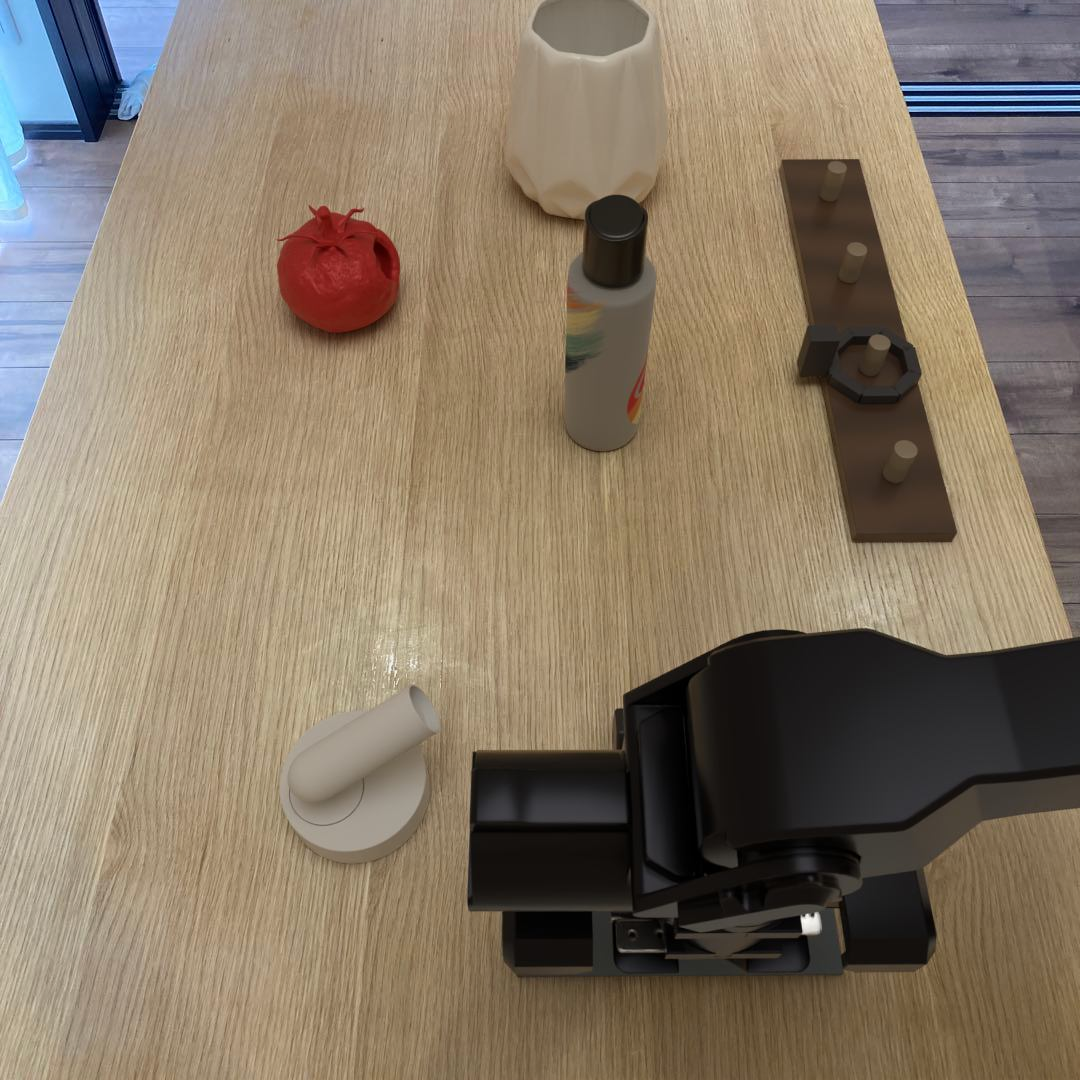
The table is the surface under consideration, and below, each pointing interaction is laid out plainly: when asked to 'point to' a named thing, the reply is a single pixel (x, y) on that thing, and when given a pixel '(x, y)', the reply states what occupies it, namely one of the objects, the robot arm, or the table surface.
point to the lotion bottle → (608, 325)
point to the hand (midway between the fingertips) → (689, 935)
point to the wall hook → (361, 779)
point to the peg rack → (864, 358)
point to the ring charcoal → (824, 362)
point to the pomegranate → (338, 271)
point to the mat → (820, 947)
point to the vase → (586, 104)
